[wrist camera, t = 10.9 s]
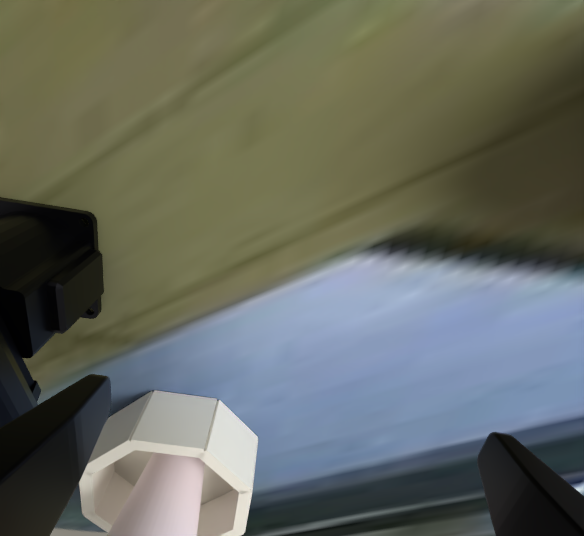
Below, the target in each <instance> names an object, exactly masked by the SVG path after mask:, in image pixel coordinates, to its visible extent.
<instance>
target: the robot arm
mask: <svg viewBox="0 0 584 536" xmlns="http://www.w3.org/2000/svg"><path fill="white" fill-rule="evenodd" d="M83 218H85V219H87V220H88V223H89V224H88V225H87V224H85V223H84V222H83ZM103 292H104V286H103V265H102V254H101V253H100V251H99V250H98V232H97V220H96V217H95V216H94V215H93V214H92V213H91V212H88V211H83V210H76V209H70V208H64V207H57V206H51V205H45V204H39V203H32V202H26V201H20V200H13V199H7V198H1V197H0V536H50V534H51V533H52V530H53V529H54V527H55V525H56V524H57V522H58V520H59V518H60V516H61V515H62V513H63V511H64V509H65V507H66V506H67V504H68V502H69V500H70V498H71V497H72V495H73V493H74V491H75V489H76V487H77V485H78V483H79V482H80V480H81V477H82V475H83V473H84V471H85V468H86V466H87V464H88V461H89V459H90V457H91V454H92V452H93V450H94V447H95V445H96V443H97V440H98V438H99V436H100V433H101V431H102V429H103V427H104V424H105V422H106V420H107V417H108V415H109V412H110V408H111V383H110V379H109V377H107V376H102V375H95V374H90V375H88V376H86V377H84V378H83V379H81V380H79V381H78V382H76V383H74V384H73V385H71V386H69V387H68V388H66V389H64V390H63V391H61V392H59V393H58V394H56V395H54V396H53V397H51V398H49V399H48V400H46V401H44V402H43V403H41V404H39V405H38V404H37V401H38V398H39V395H40V393H41V389H40V387H39V385H38V383H37V381H34V380H33V379H32V377H31V375H30V373H29V371H28V369H27V367H26V365H25V363H24V361H23V359H22V358H31V357H32V356H33V355H34V354H35V353H36V352H37V351H38V350H39V349H40V348H41V347H42V346H43V345H44V344H45V343H46V342H47V341H48V340H49V339H50V338H51V337H52V336H53V335H54V334H55V333H61V334H63V333H64V332H66V331H67V330H68V329H69V328H70V327H71V326H72V325H73V324H74V323H75V322H76V321H77V320H78V319H79V318H80V317H82V318H89V319H93V318H96V317H97V316H98V315H99V313H100V312H101V295H102V294H103ZM89 308H92V309H93V310H94V312H93V311H91V310H89ZM477 463H478V469H479V473H480V476H481V480H482V484H483V488H484V492H485V496H486V500H487V504H488V508H489V512H490V516H491V520H492V523H493V527H494V530H495V534H496V536H584V496H583V495H582V494H580V493H579V492H578V491H577V490H576V489H575V488H573V487H572V486H571V485H570V484H569V483H567V482H566V481H565V480H564V479H563V478H561V477H560V476H559V475H558V474H557V473H555V472H554V471H553V470H552V469H551V468H550V467H548V466H547V465H546V464H545V463H544V462H542V461H541V460H540V459H539V458H538V457H536V456H535V455H534V454H533V453H532V452H531V451H529V450H528V449H527V448H526V447H525V446H523V445H522V444H521V443H520V442H519V441H517V440H516V439H515V438H514V437H513V436H511V435H509V434H506V433H499V432H492V433H490V434H489V436H488V437H487V439H486V441H485V443H484V445H483V447H482V448H481V450H480V452H479V454H478V459H477Z"/></svg>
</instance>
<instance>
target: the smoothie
mask: <svg viewBox="0 0 584 536" xmlns="http://www.w3.org/2000/svg"><path fill="white" fill-rule="evenodd" d="M204 467H205V463H204V462H203V461H202V460H201V459H200V458H195V457H187V456H179V455H171V454H163V453H155V452H153V454H152V456H151V458H150V460H149V461H148V463H147V465H146V467H145V468H144V470H143V472H142V474H141V476H140V477H139V479H138V481H137V483H136V485H135V486H134V488H133V490H132V492H131V494H130V495H129V497H128V499H127V501H126V503H125V504H124V506H123V508H122V510H121V512H120V513H119V515H118V517H117V519H116V520H115V522H114V524H113V526H112V528H111V529H110V531H109V533H108V535H107V536H197V531H198V522H199V513H200V503H201V494H202V485H203V476H204Z"/></svg>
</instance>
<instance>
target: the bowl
mask: <svg viewBox="0 0 584 536" xmlns="http://www.w3.org/2000/svg"><path fill="white" fill-rule="evenodd" d="M257 446H258V437H257V436H256V435H255V434H254V433H253V432H252V431H251V430H250V429H249V428H248V427H247V426H246V425H245V424H244V423H243V422H242V421H241V420H240V419H239V418H238V417H237V416H236V415H235V414H234V413H233V412H232V411H231V410H230V409H229V408H228V407H227V406H225V405H224V404H223V403H222V402H221V401H220V400H218V401H217V399H216V398H208V397H201V396H193V395H186V394H178V393H171V392H164V391H156V390H154V392H153V391H151V392H149V393H148V394H146V395H144V396H143V397H141V398H139V399H138V400H136V401H135V402H133V403H131V404H130V405H128V406H126V407H125V408H123V409H122V410H120V411H118V412H117V413H115V414H113V415H112V416H110V417H109V418H108V419H107V421H106V423H105V425H104V427H103V429H102V431H101V433H100V436H99V438H98V440H97V443H96V445H95V447H94V450H93V452H92V454H91V457H90V459H89V461H88V464H87V466H86V468H85V471H84V473H83V475H82V477H81V480H80V482H79V486H80V496H81V506H82V514H84V517H86V518H87V519H89V520H90V521H92V522H93V523H95V524H96V525H97V526H99V527H100V528H102V529H103V530H105V531H106V532H108V533H109V531H110V529H111V528H112V526H113V524H114V522H115V520H116V519H117V517H118V515H119V513H120V512H121V510H122V508H123V506H124V504H125V503H126V501H127V499H128V497H129V495H130V494H131V492H132V490H133V488H134V486H135V485H136V483H137V481H138V479H139V477H140V476H141V474H142V472H143V470H144V468H145V467H146V465H147V463H148V461H149V460H150V458H151V456H152V454H153V452H155V453H163V454H171V455H179V456H187V457H195V458H200V459H201V460H202V461H203V462H204V463H205V467H204V476H203V485H202V494H201V503H200V513H199V522H198V531H197V536H241V535H243V534H244V533H245V529H246V523H247V518H248V512H249V507H250V502H251V496H252V490H253V481H254V472H255V463H256V454H257Z"/></svg>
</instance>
